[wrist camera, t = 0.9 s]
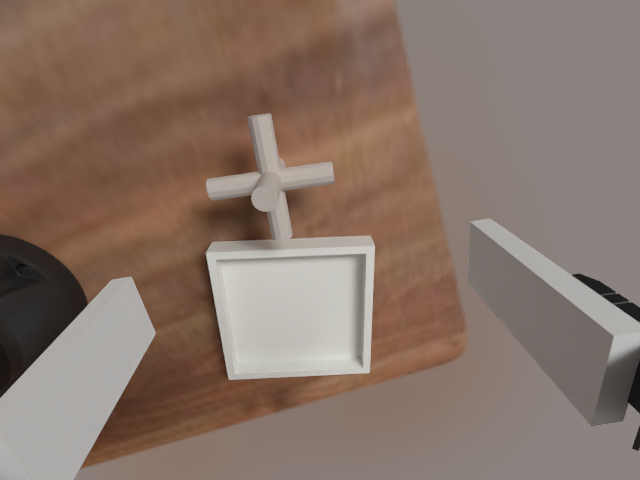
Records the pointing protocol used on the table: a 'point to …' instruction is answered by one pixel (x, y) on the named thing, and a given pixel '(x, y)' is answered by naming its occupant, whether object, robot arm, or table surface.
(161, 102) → the table surface
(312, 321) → the tray
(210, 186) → the pipe connector
